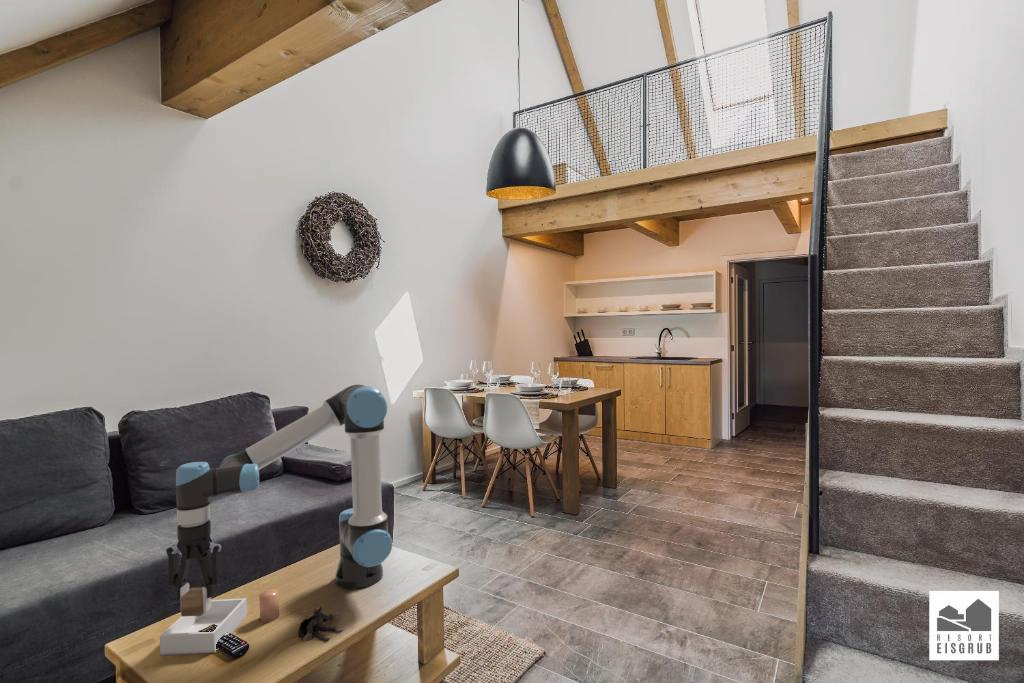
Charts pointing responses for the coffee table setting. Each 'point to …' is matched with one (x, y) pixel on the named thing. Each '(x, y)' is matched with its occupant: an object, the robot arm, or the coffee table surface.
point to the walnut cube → (192, 602)
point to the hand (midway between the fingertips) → (196, 609)
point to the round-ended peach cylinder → (269, 605)
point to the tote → (185, 629)
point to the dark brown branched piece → (317, 625)
